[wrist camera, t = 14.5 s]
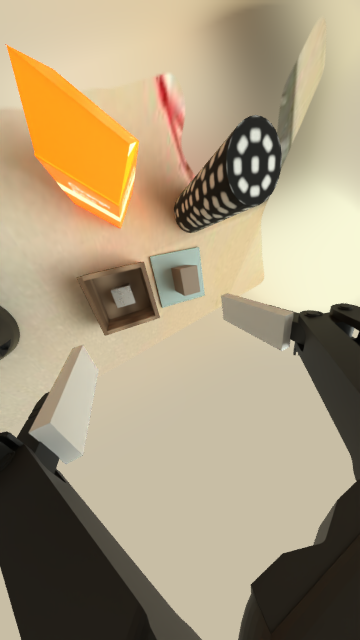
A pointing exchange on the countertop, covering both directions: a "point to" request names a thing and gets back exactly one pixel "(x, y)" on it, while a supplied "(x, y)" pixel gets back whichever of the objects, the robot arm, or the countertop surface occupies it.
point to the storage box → (104, 303)
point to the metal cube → (123, 295)
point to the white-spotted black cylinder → (232, 177)
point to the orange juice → (76, 140)
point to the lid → (178, 276)
